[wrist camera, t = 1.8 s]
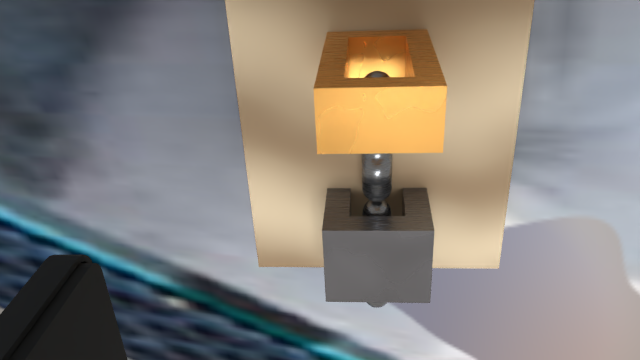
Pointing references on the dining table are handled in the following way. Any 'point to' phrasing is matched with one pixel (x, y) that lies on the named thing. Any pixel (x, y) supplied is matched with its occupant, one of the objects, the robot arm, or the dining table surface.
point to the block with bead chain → (379, 104)
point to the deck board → (407, 168)
